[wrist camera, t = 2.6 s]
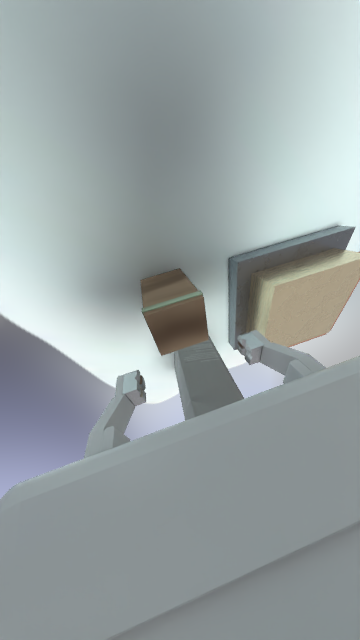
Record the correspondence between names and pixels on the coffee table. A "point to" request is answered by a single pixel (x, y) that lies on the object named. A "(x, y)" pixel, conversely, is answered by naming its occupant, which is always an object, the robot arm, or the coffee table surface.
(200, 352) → the skincare box
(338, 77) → the coffee table surface
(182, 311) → the walnut column
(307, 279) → the stand
